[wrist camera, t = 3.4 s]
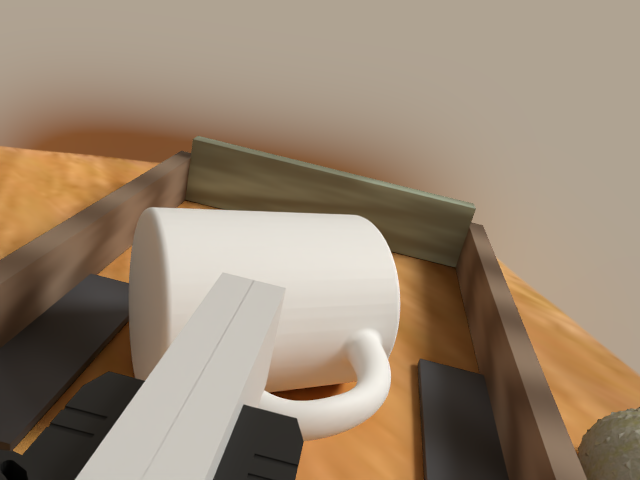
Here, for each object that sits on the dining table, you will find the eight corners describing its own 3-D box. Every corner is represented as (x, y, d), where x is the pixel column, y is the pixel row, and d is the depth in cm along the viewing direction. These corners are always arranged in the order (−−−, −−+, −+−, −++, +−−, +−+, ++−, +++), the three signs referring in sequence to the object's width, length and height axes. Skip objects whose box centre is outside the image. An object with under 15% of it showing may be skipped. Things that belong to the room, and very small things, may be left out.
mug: (123, 331, 27) (136, 178, 24) (306, 320, 32) (336, 190, 29) (170, 547, 18) (203, 338, 15) (423, 486, 22) (488, 318, 19)
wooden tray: (584, 669, 17) (657, 556, 15) (-169, 459, 18) (-193, 329, 16) (468, 265, 44) (489, 207, 42) (176, 191, 45) (183, 132, 43)
